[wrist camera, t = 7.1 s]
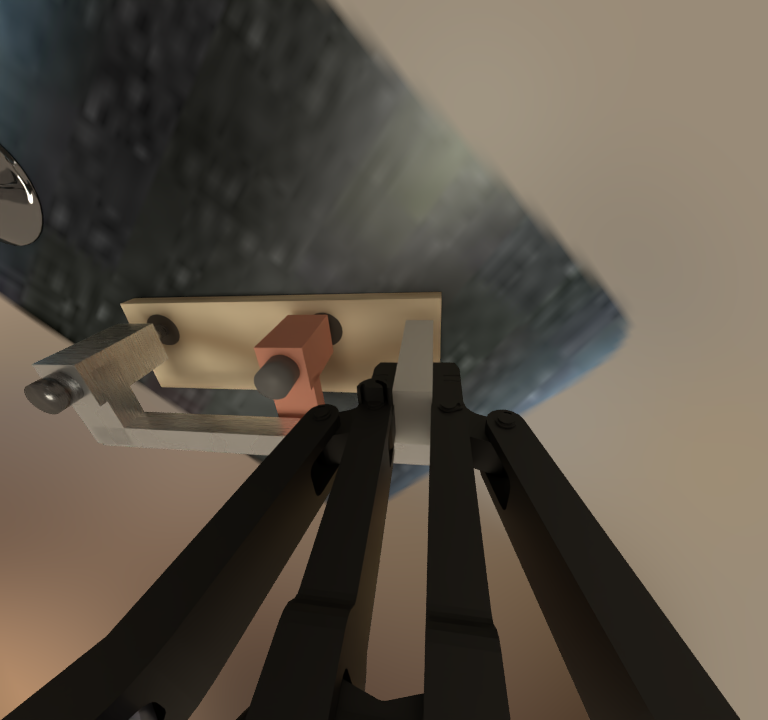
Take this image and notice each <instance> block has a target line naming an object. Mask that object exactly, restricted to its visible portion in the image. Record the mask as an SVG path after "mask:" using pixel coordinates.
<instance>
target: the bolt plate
mask: <svg viewBox="0 0 768 720" xmlns="http://www.w3.org/2000/svg"><path fill="white" fill-rule="evenodd" d="M120 305H121V307H122V309H123V311H124V313H125V315H126V317H127V319H128V321H129V323H130V324H148V323H153V326H154V327H156V326H158V325H164V326H166V327H167V328H168V330H169V335H168V336H166V337H165V338H163V339H161V340H160V341H161V343H162V345H163V347H164V349H165V351H166V354H167V356H168V358H169V359H168V360H166V361H165V362H163V363H162V364H161V365H159V366H158V367H156V368H155V369H153V371H154V373H155V375H156V377H157V379H158V381H159V383H160V385H161V387H180V388H215V389H251V390H257V389H256V387H255V384H254V376H255V374H256V373H257V372H258V371H259V370H260V367H259V364H258V360H257V357H256V354H255V350H254V347H255V346H256V345H257V344H258V343H259V342H260V341H261V340H262V339H263V338H264V337H265V336H266V335H267V334H268V333H270V332H271V331H272V330H273V329H274V328H275V327H276V326H277V325H278V324H279V323H280V322H281V321H282V320H283V319H284V318H285V317H286V316H287V315H328V321H329V327H330V333H331V339H332V345H333V351H334V352H333V353H332V355H331V357H330V359H329V360H328V362H327V364H326V366H325V367H324V369H323V371H322V373H321V374H320V376H319V377H320V382H321V388H322V392H357V386H358V384H359V383H361V382H362V381H364V380H367V379H370V378H372V375H373V371H374V368H375V367H376V366H377V365H378V364H379V363H380V362H393V363H398V358H399V353H400V348H401V343H402V338H403V333H404V327H405V322H406V320H433V362H440V340H441V292H412V293H363V294H315V295H266V296H218V297H169V298H133V299H131V300H128V301H126V302H124V303H121V304H120Z"/></svg>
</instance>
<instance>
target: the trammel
mask: <svg viewBox="0 0 768 720" xmlns="http://www.w3.org/2000/svg"><path fill="white" fill-rule="evenodd" d="M168 335H169V330H168V328H167V327H166V326H164V325H158V326H156V327H154V326H153V323H148V324H116V325H114V326H112V327H110V328H107V329H105V330H103V331H101V332H99V333H97V334H95V335H93V336H91V337H89V338H86V339H84V340H82V341H80V342H78V343H76V344H74V345H72V346H70V347H68V348H65V349H64V350H62V351H59V352H57V353H55V354H53V355H51V356H49V357H46V358H44V359H42V360H40V361H38V362H36V363H34V364H32V366H33V367H34V369H35V370H36V372H37V373H38V375H39V376H40V377H41V379H39V380H37V381H35V382H34V383H31V384H30V385H28V386H26V387H25V389H24V393H25V395H26V397H27V399H28V400H29V401H30V402H31V403H32V404H33V405H34V406H35V407H37V408H38V409H40V410H42V411H44V412H46V413H49V414H58V413H60V412H61V411H63V410H64V409H66V408H67V407H69V406H71V405H72V406H73V407H74V409H75V410H76V412H77V413H78V415H79V416H80V417H81V419H82V420H83V422H84V423H85V425H86V426H87V428H88V429H89V431H90V432H91V433H92V435H93V436H94V438H95V439H96V441H97V442H98V443H102V444H103V445H111V446H127V447H143V448H161V449H178V450H192V451H209V452H224V453H240V454H256V455H269V454H270V453H271V452H272V451H273V450H274V448H275V447H276V446H277V445H278V444H279V443H280V442H281V441H282V439H283V438H284V437H285V436H286V435H287V434H288V433H289V432H290V431H291V429H292V428H293V427H294V426H295V425H296V424H297V423H298V422H299V420H300V419H301V418H279V417H255V416H231V415H208V414H184V413H159V412H144V411H143V409H142V407H141V405H140V403H139V402H138V400H137V398H136V396H135V395H134V393H133V391H132V389H131V387H130V385H132V384H133V383H135V382H136V381H138V380H139V379H141V378H142V377H143V376H145V375H146V374H148V373H149V372H151V371H152V370H153V369H155V368H156V367H158V366H159V365H161V364H162V363H163V362H165V361H166V360H168V359H169V358H168V356H167V354H166V351H165V349H164V347H163V345H162V343H161V341H160V340H161V339H163V338H165V337H166V336H168ZM394 450H395V454H394V461H393V463H401V464H417V465H430V445H419V444H401V443H396V442H395V441H394Z"/></svg>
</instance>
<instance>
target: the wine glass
mask: <svg viewBox="0 0 768 720" xmlns="http://www.w3.org/2000/svg"><path fill="white" fill-rule="evenodd" d="M42 226H43V214H42V209H41V204H40V202H39V199H38V196H37V193H36V191H35V189H34V187H33V185H32V183H31V181H30V180H29V178H28V177H27V175H26V173H25V172H24V170H23V169H22V168H21V166H20V165H19V164H18V163H17V161H16V160H15V159H14V158H13V157H12V156H11V155H10V153H9V152H8V151H7V150H6V149H5V148H4V147H2V146H1V145H0V242H3V243H5V244H10V245H14V246H24V245H29V244H31V243H33V242H35V241H36V239H37V238H38V237H39V236H40V233H41V231H42Z"/></svg>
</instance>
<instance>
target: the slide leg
mask: <svg viewBox="0 0 768 720" xmlns="http://www.w3.org/2000/svg"><path fill="white" fill-rule="evenodd" d="M254 350H255V354H256V357H257V360H258V364H259V367H260V370H259V371H258V372H257V373H256V374H255V376H254V384H255V387H256V389H257V390H258V391H259V392H260V393H261V394H262V395H264V396H265V397H267V398H270V399H274V402H275V405H276V409H277V412H278V415H279V418H302V417H303V416H304V415H305V414H306V413H307V412H308V411H309V410H310V409H311V408H313V407H315V406H317V405H322V404H325V403H324V398H323V393H322V388H321V382H320V377H319V376H320V374H321V373H322V371H323V369H324V367H325V366H326V364H327V362H328V360H329V359H330V357H331V355H332V353H333V352H334V351H333V345H332V339H331V333H330V327H329V321H328V315H287V316H286V317H285V318H284V319H283V320H282V321H281V322H280V323H279V324H278V325H277V326H276V327H275V328H274V329H273V330H272V331H271V332H270V333H268V334H267V335H266V336H265V337H264V338H263V339H262V340H261V341H260V342H259V343H258V344H257V345H256V346H255V347H254Z"/></svg>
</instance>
